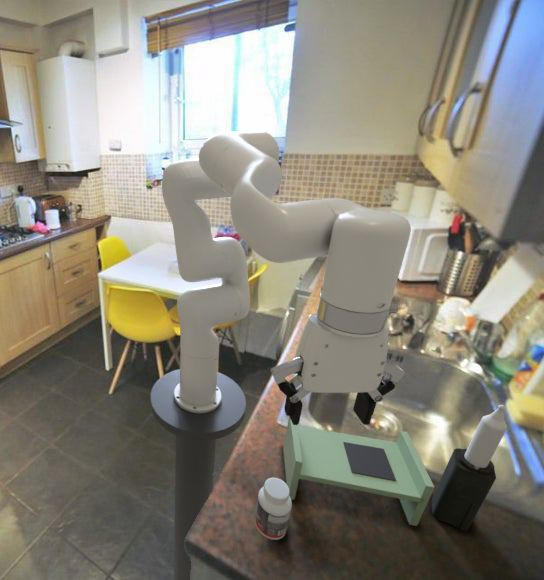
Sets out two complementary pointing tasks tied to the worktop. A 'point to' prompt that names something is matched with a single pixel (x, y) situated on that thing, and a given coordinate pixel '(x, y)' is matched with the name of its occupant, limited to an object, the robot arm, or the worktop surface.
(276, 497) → the pill bottle
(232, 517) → the worktop surface
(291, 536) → the worktop surface
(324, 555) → the worktop surface
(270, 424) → the worktop surface
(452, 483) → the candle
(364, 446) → the shelf
